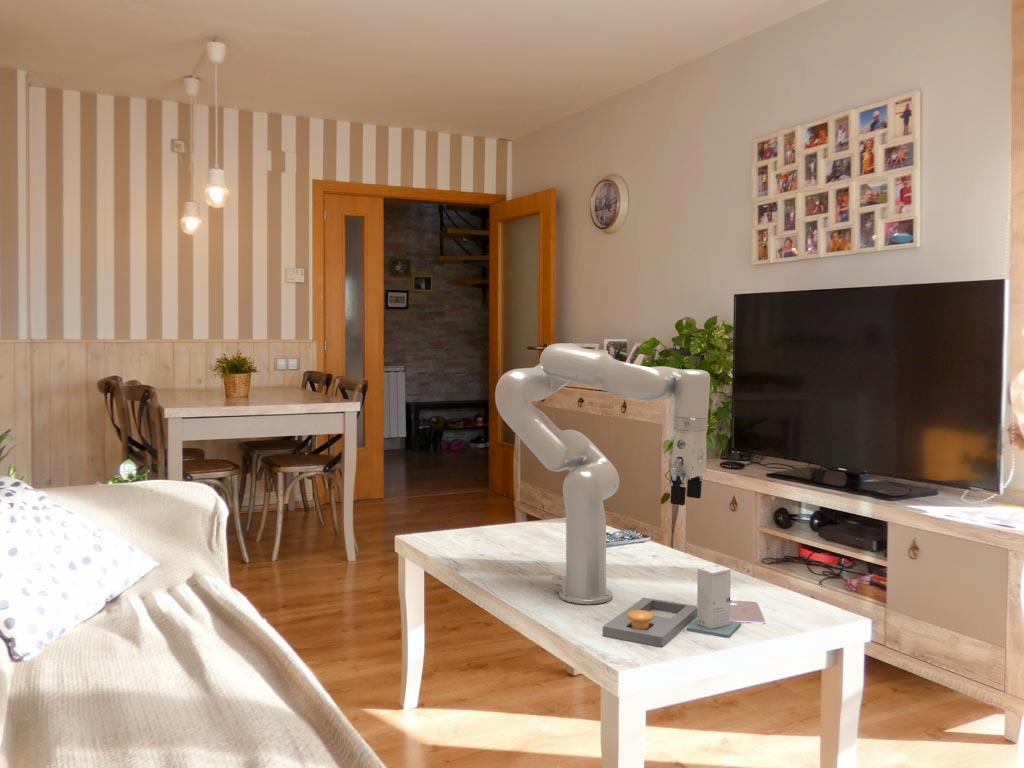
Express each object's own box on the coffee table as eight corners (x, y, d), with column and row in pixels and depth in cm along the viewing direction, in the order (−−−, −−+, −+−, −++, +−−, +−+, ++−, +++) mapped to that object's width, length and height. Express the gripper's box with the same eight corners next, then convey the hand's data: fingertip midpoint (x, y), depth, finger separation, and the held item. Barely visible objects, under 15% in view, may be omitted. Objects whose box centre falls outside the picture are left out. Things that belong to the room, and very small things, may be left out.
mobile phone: (730, 619, 185) (724, 599, 200) (730, 624, 185) (724, 603, 200) (766, 621, 184) (757, 600, 199) (766, 626, 184) (757, 604, 199)
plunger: (623, 636, 177) (623, 615, 176) (633, 628, 181) (633, 608, 181) (647, 640, 174) (647, 619, 174) (656, 633, 178) (656, 612, 178)
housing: (602, 635, 177) (602, 626, 177) (643, 606, 197) (643, 597, 197) (662, 647, 170) (662, 637, 170) (698, 615, 190) (698, 606, 190)
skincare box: (711, 630, 179) (712, 573, 178) (695, 624, 182) (696, 568, 182) (731, 624, 182) (732, 568, 181) (715, 618, 186) (716, 564, 185)
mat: (686, 630, 180) (686, 627, 180) (700, 618, 188) (700, 615, 188) (728, 637, 176) (729, 635, 176) (740, 625, 183) (740, 622, 183)
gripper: (692, 430, 180) (687, 509, 181) (719, 423, 195) (715, 497, 196) (659, 426, 184) (654, 504, 185) (688, 420, 199) (684, 492, 200)
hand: (685, 500), depth 191 cm, fingers open, 9 cm apart
